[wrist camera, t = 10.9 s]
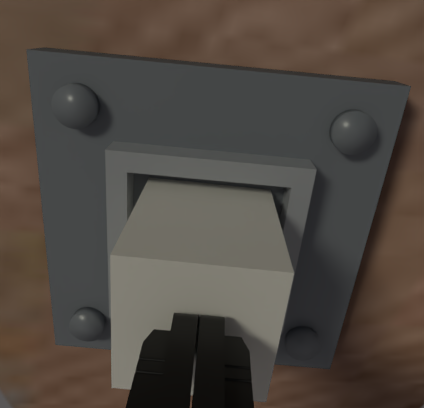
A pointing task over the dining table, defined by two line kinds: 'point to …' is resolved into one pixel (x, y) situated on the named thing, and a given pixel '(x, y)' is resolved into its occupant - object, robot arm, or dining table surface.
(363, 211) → the baseplate
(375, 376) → the dining table surface
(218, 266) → the brick
